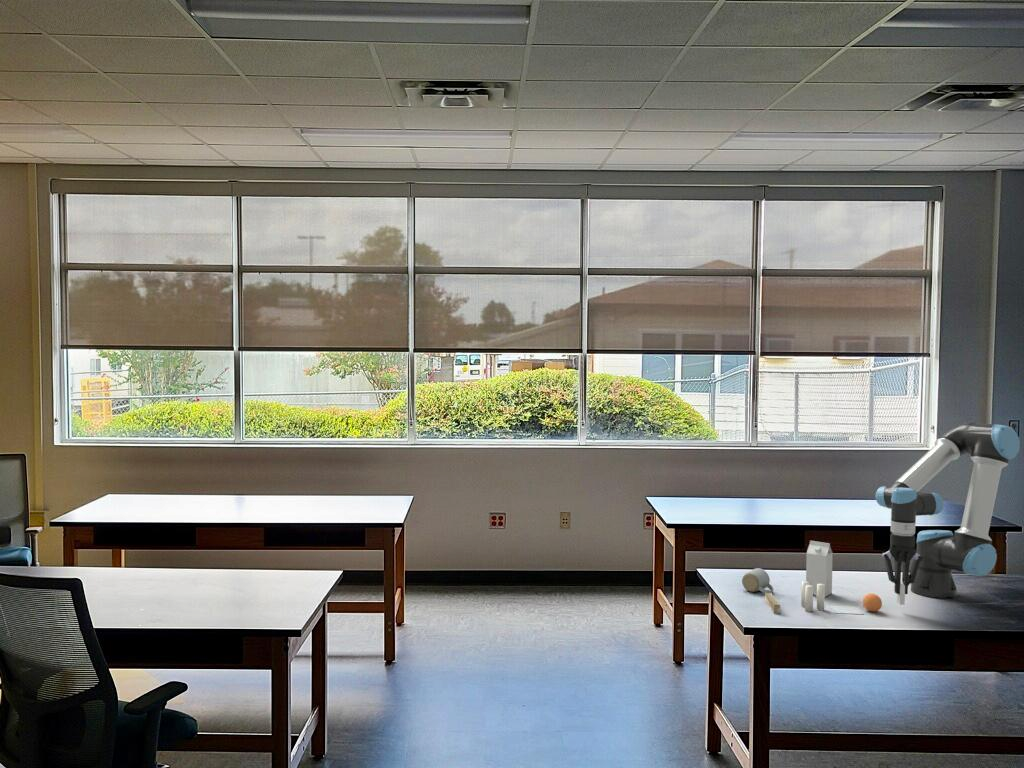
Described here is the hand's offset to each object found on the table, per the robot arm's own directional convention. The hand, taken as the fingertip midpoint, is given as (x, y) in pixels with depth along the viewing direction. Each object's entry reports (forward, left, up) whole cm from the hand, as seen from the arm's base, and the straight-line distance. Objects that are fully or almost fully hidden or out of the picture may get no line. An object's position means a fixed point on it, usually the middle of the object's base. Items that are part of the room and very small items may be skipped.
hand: (900, 603), depth 268 cm
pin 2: (+31, +2, -3) cm, 31 cm away
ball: (+9, 0, 0) cm, 9 cm away
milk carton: (+21, -20, -3) cm, 29 cm away
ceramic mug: (+43, -21, -4) cm, 47 cm away
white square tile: (+18, 0, -3) cm, 18 cm away
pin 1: (+31, -3, -3) cm, 31 cm away
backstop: (+42, 0, -3) cm, 42 cm away
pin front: (+26, 0, -3) cm, 26 cm away
